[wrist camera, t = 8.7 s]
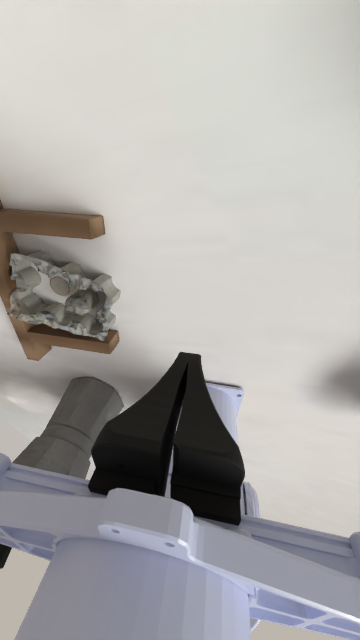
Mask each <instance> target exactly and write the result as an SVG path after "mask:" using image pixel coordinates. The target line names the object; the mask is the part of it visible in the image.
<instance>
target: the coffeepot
mask: <svg viewBox="0 0 360 640" xmlns="http://www.w3.org/2000/svg"><path fill="white" fill-rule="evenodd" d="M123 407H124V406H123V403H122V400H121V397H120V396H119V394H118V393H117V392H116V390H115V389H114V388H112V387H111V386H110V385H108V384H107V383H105V382H103V381H101V380H98V379H95V378H90V377H81V378H77V379H72V381H71V382H70V384H69V386H68V388H67V390H66V392H65V394H64V395H63V397H62V399H61V401H60V403H59V405H58V406H57V408H56V410H55V412H54V414H53V415H52V417H51V419H50V421H49V423H48V425H47V426H46V429H45V430H44V432H43V433H42V434H41V436H40V437H36V438H35V439H34V440H33V441H32V442H31V443H30V444H29V445H28V446H27V448H26V449H25V450H24V451H23V452H22V453H21V454H20V455H19V456H18V457H17V458H16V459H15V460H14V461H13V462H12V463H14V464H19V465H23V466H28V467H32V468H37V469H41V470H46V471H50V472H55V473H59V474H64V475H68V476H73V477H77V478H82V479H85V478H86V475H87V472H88V469H89V466H90V461H89V458H90V456H91V449H92V447H93V445H94V443H95V441H96V439H97V437H98V435H99V433H100V432H101V430H102V429H103V427H104V426H105V424H106V423H107V422H108V421H110V420H111V419H113V418H114V417H116V416H118V414H119V413H120V411H121V410H122V408H123ZM11 549H12V547H9V546H6V545H3V544H0V569H1V568H3V567H4V565H5V562H6V560H7V558H8V555H9V553H10V551H11Z"/></svg>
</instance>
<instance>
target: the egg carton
mask: <svg viewBox="0 0 360 640" xmlns="http://www.w3.org/2000/svg"><path fill="white" fill-rule="evenodd" d="M10 254H11V253H10ZM30 262H33V263H34V264H35V265H36V266H37V268H38V271H41V272H42V273H44V274H47V275H48V277H51V276H53V275H55V274H56V273H58V272H59V273H62V274H63V272H66V273H64V274H63V276H64V277H66V278H69V284H70V285H75V289H77V290H79V291H77V292H76V293H74V294H73V295H71V296H70V297H69V298H68V299H67V300H66V303H65V305H63V304H62V303H58V302H55V303H52V304H51V305H49V306H47V305H45V304H43V303H42V301H41V299H40V298H39V297H38V296H37V295H36V294H35V293H33V292H32V288H33V287H35V286H37V285H39V284H40V283H41V277H40V274H39V273H38V271H37V270H36V269H35V268H33V267H32V266H31V265H30ZM9 265H10V266H12V275H11V277H10V278H11V280H15V279H16V286H17V288H16V289H15V290H14V291H13V292H12V294H11V296H10V304H11V307H10V313H9V312H8V313H7V314H8V315H10V316H12V317H16V319H18V320H22V321H25V322H27V323H32V324H36V325H37V324H41V323H43V324H46V325H48V326H50V327H52V328H54V329H55V328H60V329H63V330H66V331H69V332H71V333H73V334H77V335H83V336H90V337H96V338H98V339H99V340H101V341H105V338H106V337H107V335H108V330H109V328H110V327H111V326H112V325H113V323H115V320H116V315H114V314H113V313H111V312H110V308H111V306H112V305H113V304H114V303H115V302H116V301H117V300H118V299H119V298H120V290H118V289H117V288H116V287H115V286H114V284H113V282H112V277H111V276H109V275H106V274H102V275H100V276H99V277H97V278H96V279H95V280H91V279H89V278H87V277H86V276H85V275H84V273H83V272H82V269H81V265H79V264H76V263H74V262H70V263H69V264H67V265H65V266H63V267H60V268H59V267H57V266H56V265H55V264H54V263H53V262H52V261H51V259H50V255H49V253H47V252H44V251H41V250H40V251H37V252H35V253H32V254H29V255H27V256H25V255H21V254H17V253H12V254H11V259H10V263H9ZM90 285H91V288H92V289H91V288H88V287H89V286H90ZM50 286H51V288H52V289H53V291H54V292H56V293H57V294H59V295H61V296H65V295H67V294H69V292H70V287H69V285H68V283H67V282H66V281H65V280H64V279H62V278H60V277H54V278H52V279H51V280H50ZM97 291H102V292H104V294H105V295H106V299H105V303H104V306H103V307H102V308H101V309H100V310H99V311H98V312H97V315H96V317H97V319H100V320H99V322H100V323H101V324H102V325H103V326H101V325H99V324H97V323H96V321H95V319H94V317H93V316H92V315H91V314H89V313H88V312H89V311H91V310H92V308H94V307H95V306H96V305H97V304H98V302H99V298H98V295H97V293H96V292H97ZM69 313H74V314H78V315H72V314H69Z"/></svg>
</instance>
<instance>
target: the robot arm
mask: <svg viewBox="0 0 360 640" xmlns="http://www.w3.org/2000/svg"><path fill="white" fill-rule="evenodd" d="M238 394H240V395H238ZM243 395H244V390H243V389H242V388H237V387H231V386H224V385H218V384H212V383H206V382H205V379H204V375H203V371H202V365H201V356H200V355H199V354H192V353H184V352H180V353H179V355H178V356H177V358H176V360H175V361H174V363H173V364H172V366H171V367H170V368H169V370H168V371H167V372H166V374H165V375H164V376H163V377H162V378H161V380H160V381H159V382H158V383H157V384H156V385H155V386H154V387H153V388H152V389H151V390H150V391H149V392H148V393H147V394H146V395H145V396H143V397H142V398H141V399H140V400H139V401H137V402H136V403H135V404H134V405H132V406H131V407H129V408H128V409H127V410H125V411H124V412H122V413H121V414H119V415H118V416H116V417H114V418H113V419H111V420H110V421H108V422H107V423H106V424H105V426H104V427H103V429H102V430H101V432H100V433H99V435H98V437H97V439H96V441H95V443H94V445H93V447H92V449H91V455H92V458H93V460H94V463H95V466H96V469H95V471H94V473H93V475H92V478H91V480H86V479H82V478H77V477H73V476H68V475H64V474H59V473H55V472H50V471H46V470H41V469H37V468H32V467H28V466H23V465H19V464H14V463H11V460H10V459H9V457H7V456H6V455H4V454H1V453H0V544H3V545H6V546H9V547H12V548H15V549H18V550H21V551H24V552H27V553H29V554H32V555H35V556H38V557H41V558H44V559H47V560H49V561H50V564H49V566H48V568H47V570H46V572H45V574H44V577H43V579H42V581H41V583H40V585H39V587H38V590H37V592H36V594H35V596H34V598H33V601H32V603H31V605H30V607H29V609H28V611H27V613H26V616H25V618H24V620H23V622H22V624H21V626H20V629H19V631H18V633H17V635H16V637H15V639H14V640H251V631H252V630H253V629H254V628H255V627H256V626H257V625H258V624H259V622H260V620H263V621H267V622H272V623H277V624H281V625H286V626H290V627H295V628H300V629H304V630H309V631H313V632H318V633H322V634H327V635H331V636H335V637H340V638H345V639H349V640H360V532H355V533H353V534H352V535H351V536H350V537H349V538H347V537H342V536H338V535H333V534H329V533H324V532H320V531H315V530H311V529H306V528H302V527H297V526H293V525H288V524H284V523H280V522H275V521H271V520H266V519H262V518H260V511H259V504H258V498H257V494H256V491H255V490H254V489H253V488H252V487H251V484H250V483H249V482H243V480H244V477H245V469H244V464H243V460H242V456H241V453H240V450H239V447H238V433H237V415H238V411H239V408H240V405H241V401H242V398H243ZM177 423H178V426H177ZM176 427H177V430H176ZM175 433H176V434H175ZM172 450H173V452H172ZM171 456H172V457H171ZM242 482H243V486H242Z"/></svg>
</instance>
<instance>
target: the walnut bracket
mask: <svg viewBox="0 0 360 640" xmlns="http://www.w3.org/2000/svg"><path fill="white" fill-rule="evenodd" d="M12 232H14V233H25V234H36V235H48V236H59V237H71V238H82V239H94V238H96V237H99V236H101V235H104V234H105V227H104V219H103V216H95V215H82V214H68V213H55V212H41V211H27V210H14V209H3V206H2V203H1V200H0V296H1V299H2V301H3V303H4V306H5V308H6V310H7V312H9V313H10V307H11V304H10V296H11V294H12V292H13V291H14V290H15V289H16V288H17V286H16V279H15V280H11V278H10V277H11V275H12V266H10V265H9V263H10V259H11V254H12V253H17V254H19V252H18V250H17V247H16V244H15V241H14V238H13V235H12ZM10 253H11V254H10ZM9 317H10V319H11V322H12V324H13V326H14V329H15V331H16V333H17V336H18V338H19V340H20V342H21V345H22V347H23V349H24V352H25V354H26V356H27V359H30V360H36V361H39V360H40V359H41V358H42V357H43V356H44V355H45V354H46V353H47V352H48V351H49V350H51V349H52V348H51V345H53V346H60V347H67V348H73V349H80V350H86V351H93V352H99V353H106V354H111V353H112V351H113V350H114V348H115V347H116V345H117V344H118V342H119V335H118V331H114V330H108V335H107V337H106V338H105V341H101V340H99V339H98V338H96V337H90V336H83V335H77V334H73V333H71V332H69V331H66V330H63V329H60V328H55V329H54V328H52V327H50V326H48V325H46V324H43V323H41V324H37V325H36V324H32V323H27V322H25V321H22V320H18V319H16V317H12V316H10V315H9Z"/></svg>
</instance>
